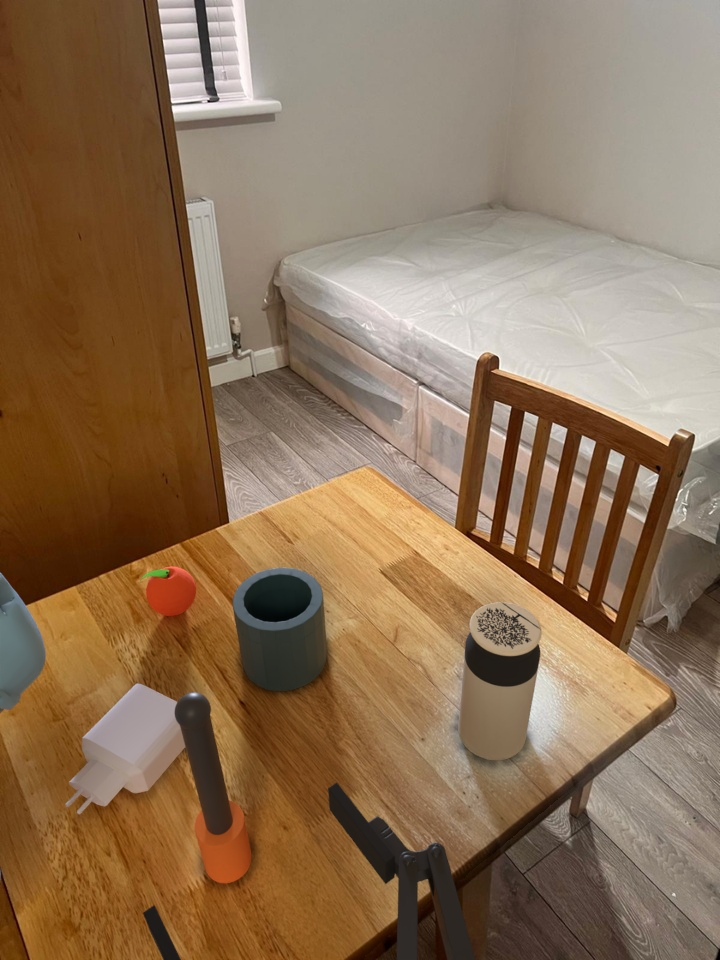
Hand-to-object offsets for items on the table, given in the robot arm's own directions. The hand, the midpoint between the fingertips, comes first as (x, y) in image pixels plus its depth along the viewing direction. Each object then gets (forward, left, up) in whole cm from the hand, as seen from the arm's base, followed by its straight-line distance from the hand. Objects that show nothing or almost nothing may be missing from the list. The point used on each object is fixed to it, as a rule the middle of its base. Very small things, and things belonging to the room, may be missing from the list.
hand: (248, 852), depth 48 cm
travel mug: (+36, +4, -27) cm, 45 cm away
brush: (+5, +14, -27) cm, 31 cm away
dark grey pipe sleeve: (+27, +31, -27) cm, 49 cm away
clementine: (+22, +50, -27) cm, 61 cm away
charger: (+4, +31, -27) cm, 42 cm away
